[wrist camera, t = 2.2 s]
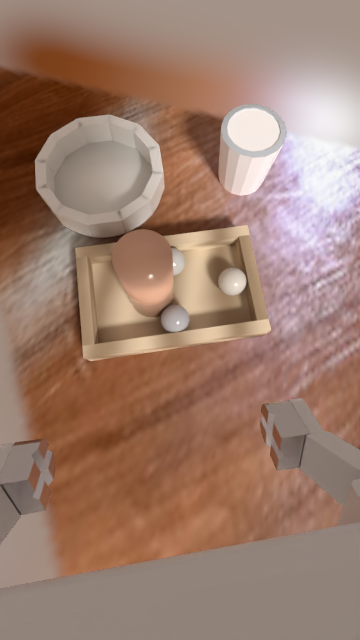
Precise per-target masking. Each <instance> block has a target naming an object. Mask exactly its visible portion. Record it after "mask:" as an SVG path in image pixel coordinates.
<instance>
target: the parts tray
mask: <svg viewBox="0 0 360 640" xmlns="http://www.w3.org/2000/svg"><path fill="white" fill-rule="evenodd" d="M163 237H164V238H165V239H166V240H167V241H168V243H169V244H170V246H171V248H176V249H178V250H180V251H181V252H182V253H183V255H184V257H185V267H184V269H183V270H182V272H181V273H179V274H178V275H175V276H173V280H174V301H173V304H172V305H180V306H182V307H184V308H185V309H186V310H187V312H188V314H189V318H190V320H189V324H188V326H187V328H186V329H185V330H184V331H182V332H175V333H170V332H168V331H166V330H165V329H164V328H163V326H162V324H161V316H158V317H146V316H143V315H141V314H140V313H138V312H137V311H136V310H135V309H134V307H133V305H132V303H131V301H130V299H129V297H128V295H127V293H126V291H125V289H124V287H123V285H122V283H121V281H120V279H119V277H118V275H117V273H116V271H115V269H114V267H113V264H112V252H113V249H114V246H115V245H116V243H117V242H116V243H108V244H100V245H93V246H85V247H78V248H75V254H76V267H77V280H78V294H79V307H80V320H81V334H82V347H83V358H85V359H87V360H90V361H94V360H101V359H108V358H114V357H121V356H128V355H135V354H141V353H148V352H155V351H162V350H168V349H175V348H182V347H189V346H195V345H202V344H209V343H216V342H222V341H229V340H236V339H243V338H249V337H256V336H263V335H265V334H266V333H268V332H269V331H271V327H270V323H269V319H268V314H267V310H266V305H265V301H264V296H263V292H262V288H261V283H260V279H259V274H258V270H257V265H256V261H255V256H254V252H253V248H252V243H251V239H250V234H249V230H248V225H245V226H237V227H229V228H222V229H214V230H207V231H199V232H192V233H184V234H176V235H169V236H163ZM231 267H234V268H238V269H240V270H241V271H243V273H244V274H245V276H246V286H245V288H244V290H243V291H242V292H241V293H240V294H238V295H234V296H230V295H227V294H225V293H223V292H222V291H221V290H220V288H219V285H218V279H219V276H220V274H221V273H222V272H223V271H224V270H225V269H227V268H231Z"/></svg>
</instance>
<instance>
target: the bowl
mask: <svg viewBox="0 0 360 640" xmlns="http://www.w3.org/2000/svg"><path fill="white" fill-rule="evenodd" d="M35 176H36V190H37V191H38V193H39V194H40V196H41V197H42V199H43V200H44V201H45V203H46V204H47V206H48V207H49V208H50V209H51V211H52V212H53V213H54V214H55V216H56V217H57V218H58V220H59V221H60V222H61V223H62V225H63V226H65V227H67V228H69V229H71V230H72V231H74V232H76V233H79V234H81V235H84V236H88V237H94V238H110V237H116V236H120V235H123V234H126V233H129V232H131V231H133V230H135V229H136V228H138V227H140V226H141V225H142V224H144V223H145V222H146V221H147V220H148V219H149V218H150V217H151V216H152V215H153V213H154V212H155V210H156V209H157V207H158V205H159V203H160V200H161V197H162V193H163V191H164V173H163V167H162V161H161V154H160V148H159V145H158V144H157V143H156V142H155V141H154V140H153V139H152V137H151V136H150V135H149V134H148V133H147V132H146V131H145V130H144V129H143V128H142V127H141V126H140V125H139V124H137V123H134V122H131V121H128V120H125V119H122V118H119V117H116V116H113V115H101V116H93V117H84V118H77V119H75V120H74V121H72V122H70V123H69V124H67V125H65V126H64V127H62V128H61V129H59V130H57V131H56V132H54V133H52V134H51V135H50V136H49V138H48V139H47V141H46V143H45V144H44V146H43V148H42V149H41V151H40V153H39V154H38V156H37V158H36V159H35Z"/></svg>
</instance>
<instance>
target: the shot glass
mask: <svg viewBox="0 0 360 640" xmlns="http://www.w3.org/2000/svg"><path fill="white" fill-rule="evenodd" d="M286 133H287V132H286V128H285V124H284V122H283V120H282V119H281V117H280V116H279V115H278V114H277V113H276V112H274V111H273V110H271V109H270V108H268V107H265V106H261V105H257V104H248V105H241V106H239V107H237V108H234V109H232V110H231V111H230V112H229V113H228V114H227V115H226V116H225V117H224V120H223V123H222V126H221V136H220V154H219V172H218V175H219V181H220V183H221V185H222V186H223V188H224V189H226V190H227V191H229V192H230V193H232V194H236V195H248V194H251V193H253V192H255V191H256V190H257V189H258V188H259V187H260V186H261V184H262V182H263V180H264V179H265V177H266V175H267V173H268V171H269V169H270V168H271V166H272V164H273V162H274V160H275V159H276V157H277V155H278V153H279V151H280V149H281V148H282V146H283V144H284V141H285V137H286Z"/></svg>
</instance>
